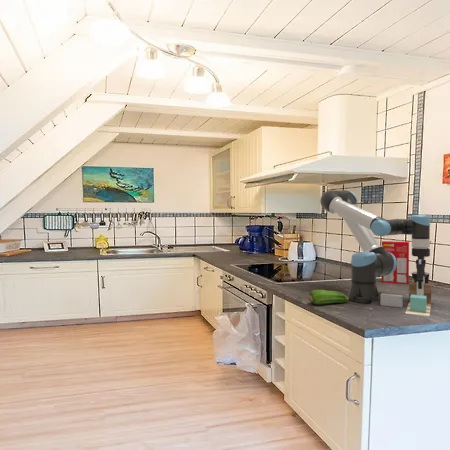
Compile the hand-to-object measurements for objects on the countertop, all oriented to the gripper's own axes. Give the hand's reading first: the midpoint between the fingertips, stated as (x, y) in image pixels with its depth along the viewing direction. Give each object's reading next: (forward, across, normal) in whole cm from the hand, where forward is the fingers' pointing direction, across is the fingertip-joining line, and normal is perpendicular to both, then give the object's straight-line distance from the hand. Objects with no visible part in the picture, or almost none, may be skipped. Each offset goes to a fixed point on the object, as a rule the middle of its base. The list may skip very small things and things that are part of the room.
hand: (420, 292), depth 169 cm
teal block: (+5, -14, 0) cm, 15 cm away
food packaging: (+6, +49, +16) cm, 52 cm away
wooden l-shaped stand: (+6, -10, 0) cm, 12 cm away
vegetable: (+6, -17, +38) cm, 43 cm away
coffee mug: (+6, +30, +2) cm, 30 cm away
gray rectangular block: (+6, -20, +11) cm, 24 cm away
